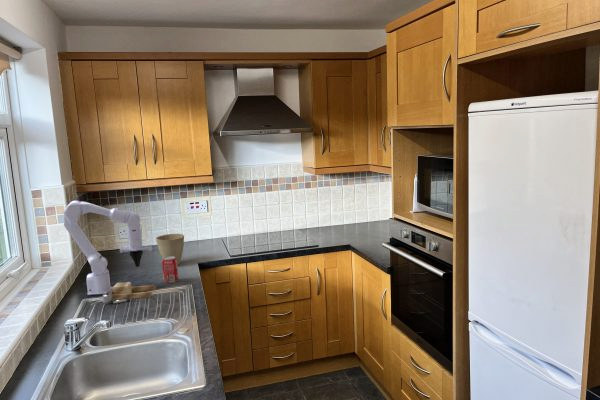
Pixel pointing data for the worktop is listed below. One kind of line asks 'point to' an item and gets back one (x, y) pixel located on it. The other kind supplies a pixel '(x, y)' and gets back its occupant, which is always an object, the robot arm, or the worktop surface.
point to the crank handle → (122, 300)
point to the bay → (135, 295)
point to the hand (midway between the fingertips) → (137, 266)
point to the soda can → (170, 269)
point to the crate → (122, 288)
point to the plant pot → (171, 245)
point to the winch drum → (108, 298)
